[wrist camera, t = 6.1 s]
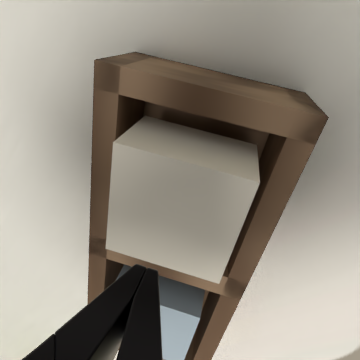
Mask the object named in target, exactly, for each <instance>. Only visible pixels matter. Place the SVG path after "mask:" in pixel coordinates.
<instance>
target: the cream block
mask: <svg viewBox="0 0 360 360" xmlns="http://www.w3.org/2000/svg"><path fill="white" fill-rule="evenodd" d="M259 184H260V176H259V164H258V152H257V145H255V144H252V143H248V142H244V141H240V140H236V139H232V138H229V137H225V136H221V135H217V134H213V133H209V132H206V131H202V130H198V129H194V128H190V127H186V126H183V125H179V124H175V123H171V122H167V121H163V120H160V119H156V118H152V117H148V116H144V117H143V118H142V119H140V120H139V121H138V122H137V123H136V124H134V125H133V126H132V127H131V128H130V129H128V130H127V131H126V132H125V133H124V134H122V135H121V136H120V137H119V138H118V139H116V140H115V141H114V142H113V151H112V165H111V179H110V193H109V208H108V222H107V236H106V249H108V250H111V251H115V252H118V253H121V254H124V255H127V256H131V257H134V258H137V259H140V260H143V261H147V262H150V263H153V264H156V265H160V266H163V267H166V268H169V269H172V270H176V271H179V272H182V273H185V274H188V275H192V276H195V277H198V278H201V279H205V280H208V281H211V282H214V283H217V284H219V283H220V281H221V278H222V276H223V273H224V271H225V268H226V266H227V263H228V261H229V258H230V256H231V253H232V251H233V248H234V246H235V243H236V241H237V238H238V236H239V233H240V231H241V229H242V226H243V224H244V221H245V219H246V216H247V214H248V211H249V209H250V206H251V204H252V201H253V199H254V196H255V194H256V191H257V189H258V186H259Z"/></svg>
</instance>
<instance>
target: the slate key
mask: <svg viewBox="0 0 360 360" xmlns="http://www.w3.org/2000/svg"><path fill="white" fill-rule="evenodd" d="M130 268H131V266H128V265H125V264H124V266H123V268H122V269H121V271H120V273H119V275H118V277H117V279H118V278H119V277H121V276H122V275H123V274H124V273H125V272H127V271H128V270H129V269H130ZM117 279H116V280H117ZM204 293H205V290H204V289H201V288H198V287H195V286H192V285H188V284H185V283H182V282H179V281H176V280H172V279H169V278H166V277H163V276H160V275H159V295H160V315H161V336H162V356H163V359H165V360H184V359H185V357H186V354H187V351H188V349H189V346H190V344H191V341H192V338H193V336H194V333H195V331H196V328H197V325H198V323H199V320H200V317H201V311H202V305H203V299H204Z"/></svg>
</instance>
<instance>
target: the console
mask: <svg viewBox="0 0 360 360" xmlns="http://www.w3.org/2000/svg"><path fill="white" fill-rule="evenodd" d="M144 116H148V117H152V118H156V119H160V120H163V121H167V122H171V123H175V124H179V125H183V126H186V127H190V128H194V129H198V130H202V131H206V132H209V133H213V134H217V135H221V136H225V137H229V138H232V139H236V140H240V141H244V142H248V143H252V144H255V145H257V152H258V164H259V176H260V184H259V186H258V189H257V191H256V194H255V196H254V199H253V201H252V204H251V206H250V209H249V211H248V214H247V216H246V219H245V221H244V224H243V226H242V229H241V231H240V233H239V236H238V238H237V241H236V243H235V246H234V248H233V251H232V253H231V256H230V258H229V261H228V263H227V266H226V268H225V271H224V273H223V276H222V278H221V281H220V283H219V284H217V283H214V282H211V281H208V280H205V279H201V278H198V277H195V276H192V275H188V274H185V273H182V272H179V271H176V270H172V269H169V268H166V267H163V266H160V265H156V264H153V263H150V262H147V261H143V260H140V259H137V258H134V257H131V256H127V255H124V254H121V253H118V252H115V251H111V250H108V249H106V236H107V222H108V208H109V193H110V179H111V165H112V151H113V142H114V141H115V140H116V139H118V138H119V137H120V136H121V135H122V134H124V133H125V132H126V131H127V130H128V129H130V128H131V127H132V126H133V125H134V124H136V123H137V122H138V121H139V120H140V119H142V118H143V117H144ZM328 118H329V117H328V116H327V115H326V114H325V113H324V112H323V111H322V110H321V109H320V108H319V107H318V106H317V105H316V103H315V102H314V101H313V100H312V99H311V98H310V97H309V96H308V95H307V94H306V93H304V92H300V91H296V90H292V89H287V88H283V87H279V86H275V85H271V84H267V83H262V82H258V81H254V80H250V79H246V78H242V77H237V76H233V75H229V74H225V73H221V72H217V71H212V70H208V69H204V68H200V67H196V66H192V65H187V64H183V63H179V62H175V61H171V60H167V59H162V58H158V57H154V56H150V55H146V54H142V53H137V52H133V53H127V54H122V55H117V56H112V57H106V58H101V59H96V60H94V94H93V129H92V165H91V201H90V236H89V272H88V304H89V303H90V302H91V301H92V300H94V299H95V298H96V297H97V296H98V295H100V294H101V293H102V292H103V291H104V290H105V289H107V288H108V287H109V286H110V285H111V284H112V283H114V282H115V281H116V279H117V277H118V275H119V273H120V271H121V269H122V268H123V266H124V264H125V265H128V266H131V267H132V266H134V265H135V264H139V265H142V266H145V267H146V268H152V269H155V270H157V271H158V274H159V275H160V276H163V277H166V278H169V279H172V280H176V281H179V282H182V283H185V284H188V285H192V286H195V287H198V288H201V289H204V290H205V293H204V299H203V305H202V311H201V317H200V320H199V323H198V325H197V328H196V331H195V333H194V336H193V338H192V341H191V344H190V346H189V349H188V351H187V354H186V357H185V359H184V360H211V359H212V357H213V355H214V353H215V351H216V349H217V347H218V345H219V343H220V340H221V338H222V336H223V334H224V332H225V330H226V328H227V326H228V324H229V322H230V320H231V318H232V316H233V314H234V312H235V310H236V307H237V305H238V303H239V301H240V299H241V297H242V295H243V293H244V291H245V289H246V287H247V285H248V283H249V281H250V279H251V276H252V274H253V272H254V270H255V268H256V266H257V264H258V262H259V260H260V258H261V256H262V254H263V252H264V250H265V248H266V246H267V243H268V241H269V239H270V237H271V235H272V233H273V231H274V229H275V227H276V225H277V223H278V221H279V219H280V217H281V215H282V213H283V210H284V208H285V206H286V204H287V202H288V200H289V198H290V196H291V194H292V192H293V190H294V188H295V186H296V184H297V182H298V179H299V177H300V175H301V173H302V171H303V169H304V167H305V165H306V163H307V161H308V159H309V157H310V155H311V153H312V151H313V149H314V146H315V144H316V142H317V140H318V138H319V136H320V134H321V132H322V130H323V128H324V126H325V124H326V122H327V120H328ZM119 348H120V347H119ZM118 350H119V349H118ZM163 360H165V359H163Z"/></svg>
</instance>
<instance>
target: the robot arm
mask: <svg viewBox="0 0 360 360" xmlns="http://www.w3.org/2000/svg"><path fill="white" fill-rule="evenodd" d="M119 347H120V348H119ZM118 349H119V352H118V356H117V359H116V360H163V356H162V336H161V315H160V295H159V274H158V271H157V270H155V269H152V268H146V267H145V266H142V265H139V264H135V265H134V266H132V267H131V268H130V269H129V270H128V271H127V272H125V273H124V274H123V275H122V276H121V277H119V278H118V279H117V280H116V281H115V282H114V283H112V284H111V285H110V286H109V287H108V288H107V289H105V290H104V291H103V292H102V293H101V294H100V295H98V296H97V297H96V298H95V299H94V300H92V301H91V302H90V303H89V304H88V305H87V306H85V307H84V308H83V309H82V310H81V311H80V312H78V313H77V314H76V315H75V316H74V317H72V318H71V319H70V320H69V321H68V322H67V323H65V324H64V325H63V326H62V327H61V328H60V329H58V330H57V331H56V332H55V334H52V335H51V336H50V337H49V338H48V339H46V340H45V341H44V342H43V343H42V344H41V345H39V346H38V347H37V348H36V349H34V350H33V351H32V352H31V353H29V354H28V355H27V356H26V357H24V358H23V359H22V360H113V359H114V357H115V355H116V353H117V351H118Z"/></svg>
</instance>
